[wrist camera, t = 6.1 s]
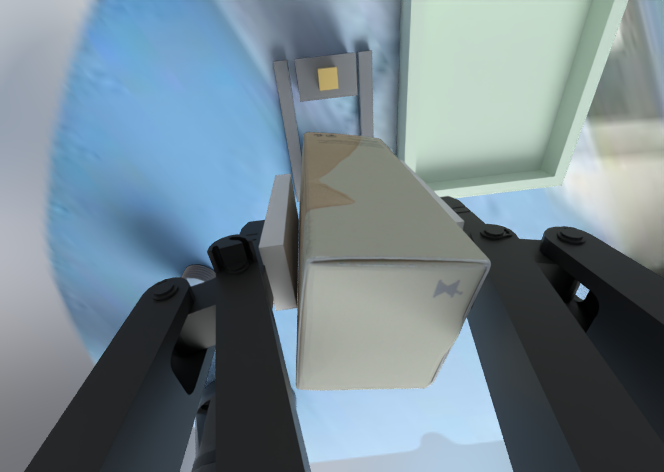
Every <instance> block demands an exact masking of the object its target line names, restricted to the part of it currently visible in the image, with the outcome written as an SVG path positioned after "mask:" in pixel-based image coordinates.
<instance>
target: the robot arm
mask: <svg viewBox="0 0 664 472" xmlns="http://www.w3.org/2000/svg"><path fill="white" fill-rule="evenodd" d="M400 161H401V162H402V164H403V165H404V166H405V167H406V168H407V169H408V170H409V171H410V172H411V173H412V175H413V176H414V177H415V178H416V179H417V180H418V181H419V182H420V184H421V185H422V186H423V187H424V188H425V189H426V190H427V191H428V192H429V193H430V195H431V196H432V197H433V198H434V199H435V200H436V201H437V202H438V203H439V205H440V206H441V207H442V208H443V209H444V210H445V211H446V212H447V213H448V215H449V216H450V217H451V218H452V219H453V220H454V221H455V222H456V223H457V224H458V226H459V227H460V228H461V229H462V230H463V231H464V232H465V233H466V234H467V235H468V237H469V238H470V239H471V240H472V241H473V242H474V243H475V244H476V245H477V247H478V248H479V249H480V250H481V251H482V252H483V253H484V254H485V255H486V256H487V257H488V259H489V260H490V262H491V267H490V270H489V272H488V274H487V276H486V278H485V280H484V282H483V284H482V286H481V288H480V290H479V292H478V294H477V296H476V298H475V301H474V303H473V305H472V307H471V309H470V311H469V313H468V315H467V319H468V323H469V326H470V329H471V332H472V336H473V339H474V342H475V346H476V349H477V352H478V356H479V359H480V362H481V366H482V369H483V372H484V376H485V379H486V382H487V386H488V389H489V392H490V396H491V399H492V402H493V405H494V409H495V412H496V415H497V419H498V422H499V425H500V429H501V432H502V435H503V439H504V442H505V445H506V448H507V452H508V455H509V459H510V462H511V465H512V468H513V472H664V278H662V277H660V276H659V275H657V274H655V273H654V272H652V271H650V270H649V269H647V268H645V267H644V266H642V265H640V264H639V263H637V262H636V261H634V260H632V259H631V258H629V257H627V256H626V255H624V254H622V253H621V252H619V251H617V250H616V249H614V248H612V247H611V246H609V245H608V244H606V243H604V242H603V241H601V240H599V239H598V238H596V237H594V236H593V235H591V234H589V233H587V232H584V231H582V230H578V229H576V228H573V227H565V226H563V227H552V228H548V229H547V230H546V231H545V232H544V234H543V237H542V240H529V239H519V238H518V237H517V235H516V234H515V233H514V232H513V231H511V230H510V229H508V228H505V227H503V226H499V225H493V224H485V223H484V222H483V221H482V220H480V219H479V218H478V217H477V216H476V215H475V214H474V213H473V212H471V211H470V210H469V209H468V208H467V207H465V205H463V204H462V203H461V202H460V201H459V200H457V199H454V198H452V197H450V196H444V197H439V196H438V195H437V194H436V193H435V192H434V191H433V190H432V189H431V188H430V187H429V186H428V185H427V184H426V183H425V182H424V181H423V180H422V179H421V178H420V177H419V176H418V175H417V174H416V173H415V172H414V171H413V170H412V169H411V168H410V167H409V166H408V165H407V164H406V163H405V162H404V161H403V160H400ZM298 241H299V219H298V213H297V208H296V202H295V196H294V191H293V185H292V179H291V174H284V175H275V180H274V184H273V188H272V192H271V197H270V201H269V205H268V210H267V214H266V218H265V220H261V221H253V222H248V223H247V224H246V225H245V226H244V227H243V228H242V229H241V232H240V235H238V234H237V235H231V236H227V237H224V238H221V239H219V240H217V241H216V242H214V243H213V244H212V245H211V246H210V247H209V248H208V251H207V253H208V255H209V258H210V261H211V263H212V266H213V268H214V271H215V273H216V277H215V278H213V279H211V280H208V281H206V282H203V283H200V284H197V285H194V286H190V284H189V282H188V281H187V279H184V278H182V277H175V278H170V279H165V280H162V281H161V282H158V283H156V284H155V285H153V286H152V287H150V288H149V289H148V290H147V291H146V292H145V293H144V294H143V295H142V297H141V298H140V300H139V301H138V303H137V304H136V306H135V307H134V309H133V310H132V311H131V313H130V314H129V316H128V317H127V319H126V320H125V322H124V323H123V325H122V326H121V328H120V329H119V331H118V332H117V334H116V335H115V337H114V338H113V340H112V341H111V343H110V344H109V346H108V347H107V349H106V350H105V352H104V353H103V355H102V356H101V358H100V359H99V361H98V362H97V364H96V365H95V367H94V368H93V370H92V371H91V373H90V374H89V376H88V377H87V379H86V380H85V382H84V383H83V385H82V386H81V388H80V389H79V391H78V392H77V394H76V395H75V397H74V398H73V400H72V401H71V403H70V404H69V406H68V407H67V408H66V410H65V411H64V413H63V414H62V416H61V418H60V419H59V421H58V422H57V423H56V425H55V427H54V428H53V429H52V431H51V432H50V434H49V435H48V437H47V438H46V440H45V441H44V443H43V444H42V446H41V447H40V449H39V451H38V452H37V453H36V455H35V456H34V458H33V459H32V461H31V462H30V464H29V465H28V467H27V468H26V470H25V471H24V472H180V468H181V465H182V462H183V458H184V455H185V451H186V448H187V444H188V441H189V437H190V434H191V430H192V427H193V424H194V420H195V443H196V456H195V461H194V464H193V468H192V472H311V470H310V466H309V461H308V457H307V453H306V449H305V444H304V440H303V436H302V432H301V428H300V423H299V419H298V415H297V411H296V396H295V394H294V392H293V390H292V389H291V385H290V381H289V377H288V373H287V369H286V364H285V360H284V356H283V352H282V348H281V343H280V339H279V335H278V331H277V327H276V322H275V318H274V315H273V311H272V308H273V301H274V305H275V309H276V311H278V310H285V309H293V308H297V293H298ZM580 283H581V284H583V285H584V286H585V287H586V288H588V289H589V290H590V291H589V293H588V294H587V296H586V298H585V300H582V299H580V298H579V297H578V296H576V295H575V294H576V292H577V289H578V287H579V285H580ZM215 348H216V381H215V382H213V383H211V384H210V385H208V386H207V387H206V388H205V389H204V386H205V382H206V379H207V376H208V372H209V369H210V365H211V362H212V358H213V355H214V351H215ZM203 389H204V390H203Z"/></svg>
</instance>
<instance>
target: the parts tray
mask: <svg viewBox="0 0 664 472" xmlns="http://www.w3.org/2000/svg"><path fill="white" fill-rule="evenodd" d="M627 2H628V0H401V14H400V50H399V86H398V122H397V158H398V159H399V160H403V161H404V162H405V163H406V164H407V165H408V166H409V167H410V168H411V169H412V170H413V171H414V172H415V173H416V174H417V175H418V176H419V177H420V178H421V179H422V180H423V181H424V182H425V183H426V184H427V185H428V186H429V187H430V188H431V189H432V190H433V191H434V192H435V193H436V194H437V195H438V196H439V197H444V196H450V197H452V198H461V197H470V196H478V195H486V194H495V193H503V192H511V191H520V190H528V189H536V188H544V187H553V186H561V185H562V183H563V180H564V177H565V175H566V172H567V169H568V166H569V163H570V161H571V158H572V155H573V152H574V150H575V147H576V144H577V141H578V138H579V136H580V133H581V130H582V127H583V125H584V122H585V119H586V116H587V113H588V111H589V108H590V105H591V102H592V100H593V97H594V94H595V91H596V88H597V86H598V83H599V80H600V77H601V75H602V72H603V69H604V66H605V63H606V61H607V58H608V55H609V52H610V50H611V47H612V44H613V41H614V38H615V36H616V33H617V30H618V27H619V25H620V22H621V19H622V16H623V14H624V11H625V8H626V5H627Z"/></svg>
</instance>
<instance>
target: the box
mask: <svg viewBox="0 0 664 472" xmlns="http://www.w3.org/2000/svg"><path fill="white" fill-rule="evenodd" d="M490 267H491V262H490V260H489V259H488V257H487V256H486V255H485V254H484V253H483V252H482V251H481V250H480V249H479V248H478V247H477V245H476V244H475V243H474V242H473V241H472V240H471V239H470V238H469V237H468V235H467V234H466V233H465V232H464V231H463V230H462V229H461V228H460V227H459V226H458V224H457V223H456V222H455V221H454V220H453V219H452V218H451V217H450V216H449V215H448V213H447V212H446V211H445V210H444V209H443V208H442V207H441V206H440V205H439V203H438V202H437V201H436V200H435V199H434V198H433V197H432V196H431V195H430V193H429V192H428V191H427V190H426V189H425V188H424V187H423V186H422V185H421V184H420V182H419V181H418V180H417V179H416V178H415V177H414V176H413V175H412V173H411V172H410V171H409V170H408V169H407V168H406V167H405V166H404V165H403V164H402V162H401V161H400V160H399V159H398V158H397V157H396V156H395V155H394V154H393V152H392V151H391V150H390V149H389V148H388V147H387V146H386V145H385V143H384V142H383V141H382V140H381V139H379V138H372V137H364V136H355V135H345V134H334V133H315V132H306V133H305V134H304V136H303V151H302V168H301V187H300V211H299V256H298V315H297V355H296V388H297V389H302V390H360V389H411V388H427V387H428V386H430V385H432V384H433V383H434V381H435V379H436V377H437V375H438V373H439V371H440V369H441V367H442V366H443V364H444V362H445V360H446V358H447V356H448V354H449V352H450V350H451V348H452V346H453V344H454V342H455V341H456V339H457V337H458V335H459V333H460V331H461V329H462V326H463V324H464V321H465V319H466V317H467V315H468V313H469V311H470V309H471V307H472V305H473V303H474V301H475V298H476V296H477V294H478V292H479V290H480V288H481V286H482V284H483V282H484V280H485V278H486V276H487V274H488V272H489V270H490Z"/></svg>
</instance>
